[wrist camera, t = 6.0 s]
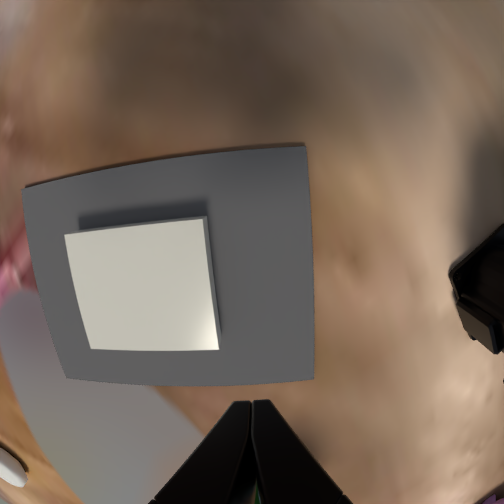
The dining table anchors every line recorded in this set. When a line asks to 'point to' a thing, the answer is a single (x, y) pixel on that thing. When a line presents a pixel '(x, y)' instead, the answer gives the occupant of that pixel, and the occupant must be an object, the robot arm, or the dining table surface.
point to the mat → (222, 253)
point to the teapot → (493, 500)
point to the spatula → (11, 469)
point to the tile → (146, 285)
